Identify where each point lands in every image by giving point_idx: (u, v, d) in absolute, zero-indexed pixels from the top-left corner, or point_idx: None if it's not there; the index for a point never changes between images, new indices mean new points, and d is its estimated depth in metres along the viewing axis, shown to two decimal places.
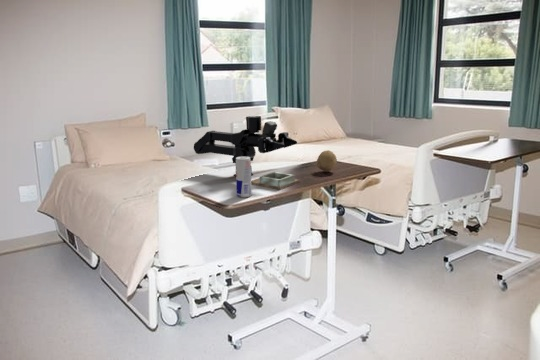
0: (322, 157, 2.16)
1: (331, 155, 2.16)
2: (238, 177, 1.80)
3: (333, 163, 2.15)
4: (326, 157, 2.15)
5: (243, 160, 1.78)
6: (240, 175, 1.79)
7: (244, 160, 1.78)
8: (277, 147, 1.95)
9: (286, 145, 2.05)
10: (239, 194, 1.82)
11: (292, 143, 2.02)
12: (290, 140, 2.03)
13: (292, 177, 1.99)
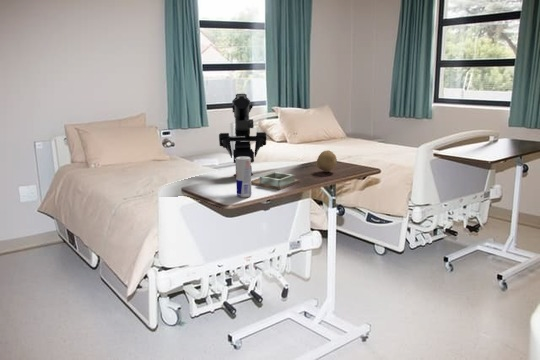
0: (322, 157, 2.16)
1: (331, 155, 2.16)
2: (238, 177, 1.80)
3: (333, 163, 2.15)
4: (326, 157, 2.15)
5: (243, 160, 1.78)
6: (240, 175, 1.79)
7: (244, 160, 1.78)
8: (229, 152, 1.90)
9: None
10: (239, 194, 1.82)
11: None
12: (255, 148, 1.90)
13: (292, 177, 1.99)
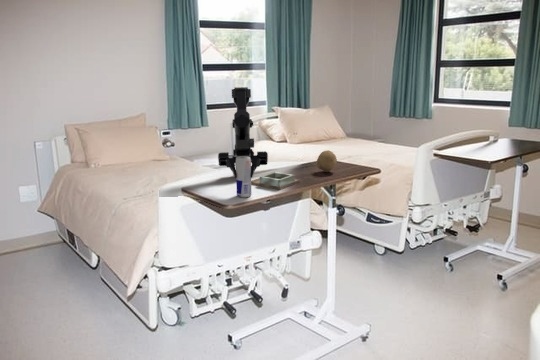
0: (322, 157, 2.16)
1: (331, 155, 2.16)
2: (238, 177, 1.80)
3: (333, 163, 2.15)
4: (326, 157, 2.15)
5: (243, 160, 1.78)
6: (240, 175, 1.79)
7: (244, 160, 1.78)
8: (233, 172, 1.83)
9: None
10: (239, 194, 1.82)
11: None
12: (251, 169, 1.82)
13: (292, 177, 1.99)
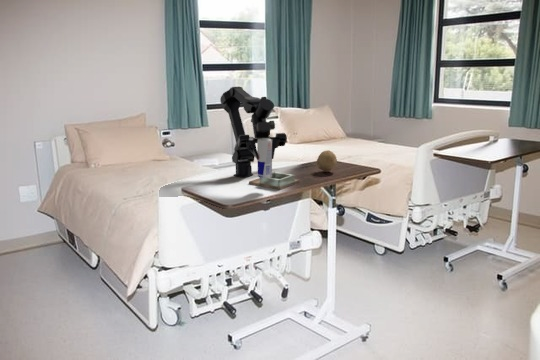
0: (322, 157, 2.16)
1: (331, 155, 2.16)
2: (260, 158, 1.85)
3: (333, 163, 2.15)
4: (326, 157, 2.15)
5: (266, 142, 1.83)
6: (263, 156, 1.84)
7: (267, 142, 1.83)
8: (254, 154, 1.87)
9: None
10: (261, 175, 1.87)
11: None
12: None
13: (292, 177, 1.99)
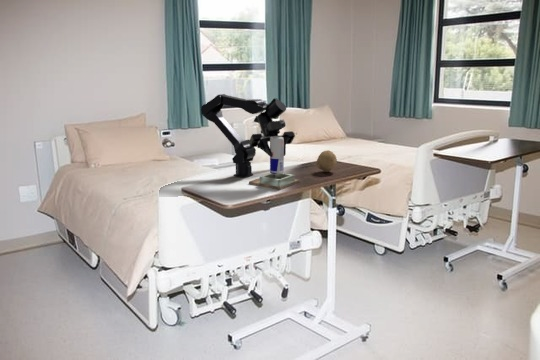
0: (322, 157, 2.16)
1: (331, 155, 2.16)
2: (274, 156, 1.94)
3: (333, 163, 2.15)
4: (326, 157, 2.15)
5: (279, 139, 1.93)
6: (277, 153, 1.94)
7: (280, 139, 1.93)
8: (266, 152, 1.96)
9: None
10: (275, 171, 1.96)
11: None
12: None
13: (292, 177, 1.99)
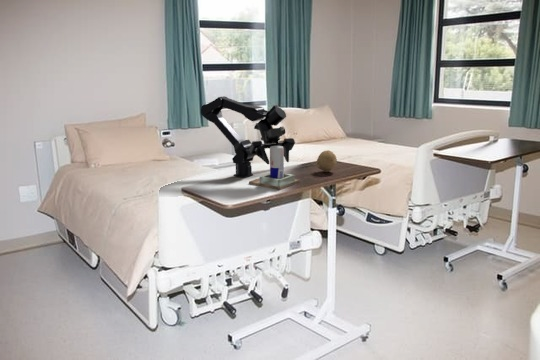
0: (322, 157, 2.16)
1: (331, 155, 2.16)
2: (274, 165, 1.95)
3: (333, 163, 2.15)
4: (326, 157, 2.15)
5: (279, 149, 1.94)
6: (277, 162, 1.95)
7: (280, 149, 1.94)
8: (264, 159, 1.96)
9: None
10: None
11: (285, 158, 1.99)
12: (286, 154, 1.99)
13: (292, 177, 1.99)
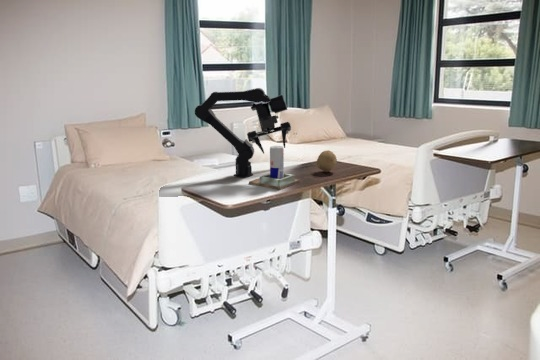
0: (322, 157, 2.16)
1: (331, 155, 2.16)
2: (274, 165, 1.95)
3: (333, 163, 2.15)
4: (326, 157, 2.15)
5: (279, 149, 1.94)
6: (277, 162, 1.95)
7: (280, 148, 1.94)
8: (260, 148, 2.06)
9: None
10: None
11: (283, 143, 2.06)
12: None
13: (292, 177, 1.99)
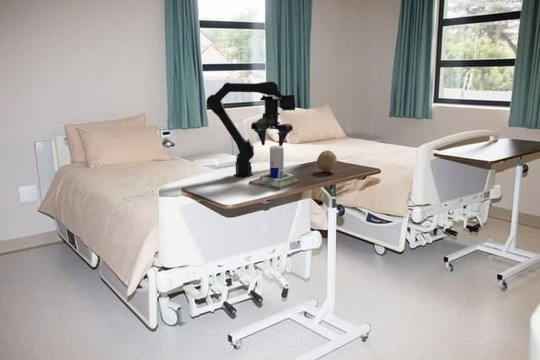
0: (322, 157, 2.16)
1: (331, 155, 2.16)
2: (274, 165, 1.95)
3: (333, 163, 2.15)
4: (326, 157, 2.15)
5: (279, 149, 1.94)
6: (277, 162, 1.95)
7: (280, 148, 1.94)
8: None
9: None
10: None
11: None
12: None
13: (292, 177, 1.99)
